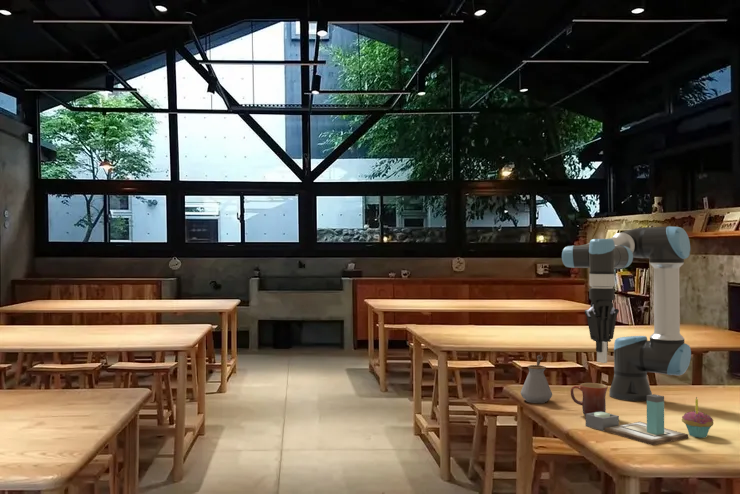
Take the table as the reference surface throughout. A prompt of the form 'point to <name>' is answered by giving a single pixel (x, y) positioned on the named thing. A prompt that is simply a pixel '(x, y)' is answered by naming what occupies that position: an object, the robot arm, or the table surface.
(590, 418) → the button frame
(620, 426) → the picture frame
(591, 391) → the mug
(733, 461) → the table surface
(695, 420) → the donut
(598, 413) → the button
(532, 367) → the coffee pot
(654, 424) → the grey and mint block
